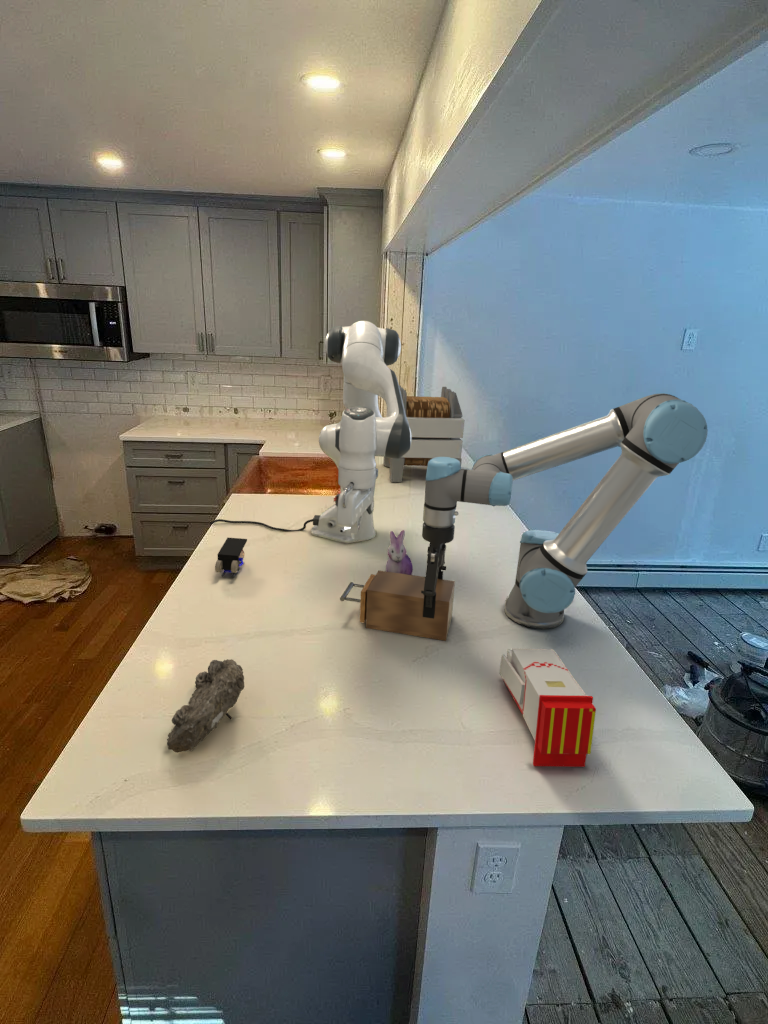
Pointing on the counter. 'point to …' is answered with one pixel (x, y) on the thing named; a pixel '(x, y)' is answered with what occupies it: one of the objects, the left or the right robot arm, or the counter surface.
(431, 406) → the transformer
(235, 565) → the black toy rover
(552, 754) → the toy
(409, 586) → the cabinet
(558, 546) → the right robot arm
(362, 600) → the drawer
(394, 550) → the figurine
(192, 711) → the fossil
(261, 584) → the counter surface
